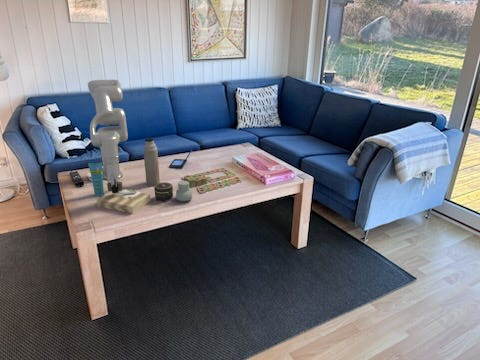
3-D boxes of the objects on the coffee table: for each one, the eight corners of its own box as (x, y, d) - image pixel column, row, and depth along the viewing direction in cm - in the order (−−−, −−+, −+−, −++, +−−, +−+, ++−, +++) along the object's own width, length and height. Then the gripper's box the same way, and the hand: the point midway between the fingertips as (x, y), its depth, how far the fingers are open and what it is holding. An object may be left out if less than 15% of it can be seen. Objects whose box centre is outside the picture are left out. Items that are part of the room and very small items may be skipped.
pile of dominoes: (199, 195, 211) (199, 186, 209) (177, 180, 231) (176, 172, 229) (247, 181, 231) (248, 173, 228) (223, 168, 250) (223, 161, 248)
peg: (108, 196, 197) (107, 184, 195) (109, 194, 200) (107, 182, 197) (134, 194, 200) (133, 182, 197) (135, 192, 202) (133, 181, 199)
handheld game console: (174, 160, 263) (173, 148, 259) (193, 161, 262) (192, 149, 258) (168, 168, 249) (167, 155, 245) (188, 169, 247) (187, 156, 244)
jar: (165, 192, 212) (164, 180, 210) (177, 197, 207) (176, 185, 204) (151, 198, 205) (150, 185, 202) (163, 203, 200) (162, 190, 197)
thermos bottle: (161, 181, 227) (158, 137, 216) (156, 186, 220) (153, 141, 209) (149, 180, 229) (145, 136, 218) (144, 185, 222) (139, 140, 211)
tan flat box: (97, 206, 196) (96, 198, 194) (118, 193, 211) (117, 186, 209) (132, 213, 189) (131, 205, 187) (151, 199, 204) (151, 192, 202)
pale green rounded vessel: (177, 195, 210) (176, 178, 206) (192, 195, 210) (191, 178, 206) (176, 203, 200) (175, 186, 196) (191, 203, 200) (190, 186, 196)
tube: (92, 196, 206) (87, 164, 199) (93, 193, 210) (88, 161, 203) (106, 195, 208) (101, 163, 200) (106, 192, 212) (102, 160, 205)
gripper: (105, 154, 198) (109, 186, 205) (102, 165, 183) (106, 198, 190) (120, 153, 199) (123, 185, 206) (117, 164, 185) (121, 197, 192)
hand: (115, 191), depth 198 cm, fingers closed on peg, 2 cm apart
